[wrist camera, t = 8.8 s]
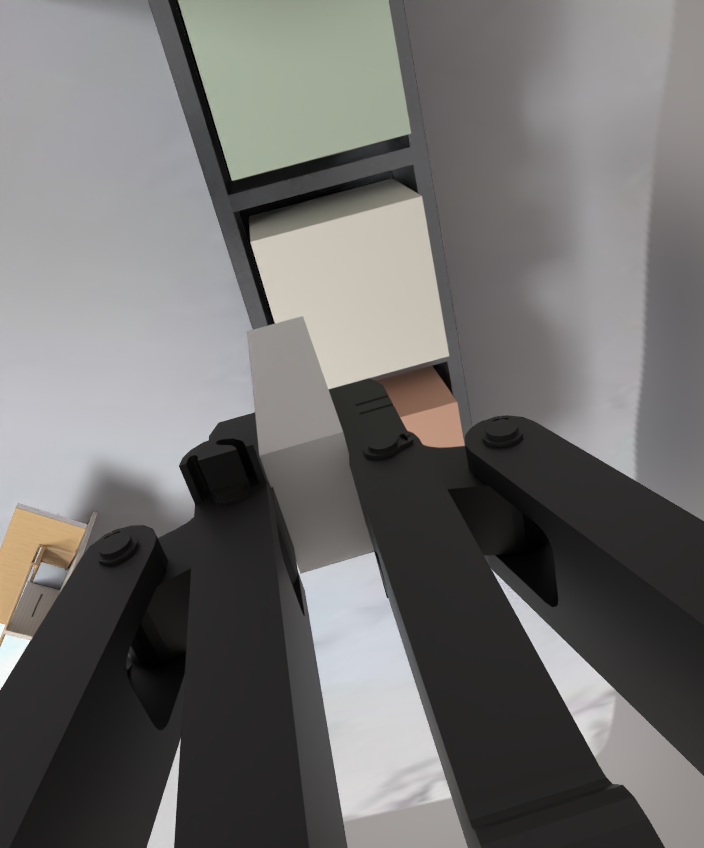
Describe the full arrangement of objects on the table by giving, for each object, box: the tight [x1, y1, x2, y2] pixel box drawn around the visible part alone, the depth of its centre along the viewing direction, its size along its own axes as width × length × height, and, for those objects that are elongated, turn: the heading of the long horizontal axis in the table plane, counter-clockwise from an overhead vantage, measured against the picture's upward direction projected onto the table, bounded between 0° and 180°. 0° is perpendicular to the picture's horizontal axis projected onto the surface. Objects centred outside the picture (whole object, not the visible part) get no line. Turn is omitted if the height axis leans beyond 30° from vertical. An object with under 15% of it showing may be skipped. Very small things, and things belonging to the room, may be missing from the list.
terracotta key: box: [376, 366, 465, 448], centre depth 30 cm, size 6×6×5 cm
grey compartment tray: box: [148, 0, 472, 445], centre depth 28 cm, size 8×25×4 cm, turn 13°
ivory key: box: [249, 178, 449, 389], centre depth 26 cm, size 6×6×5 cm
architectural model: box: [0, 503, 98, 646], centre depth 31 cm, size 3×7×7 cm, turn 153°
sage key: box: [178, 0, 411, 181], centre depth 22 cm, size 6×6×5 cm
